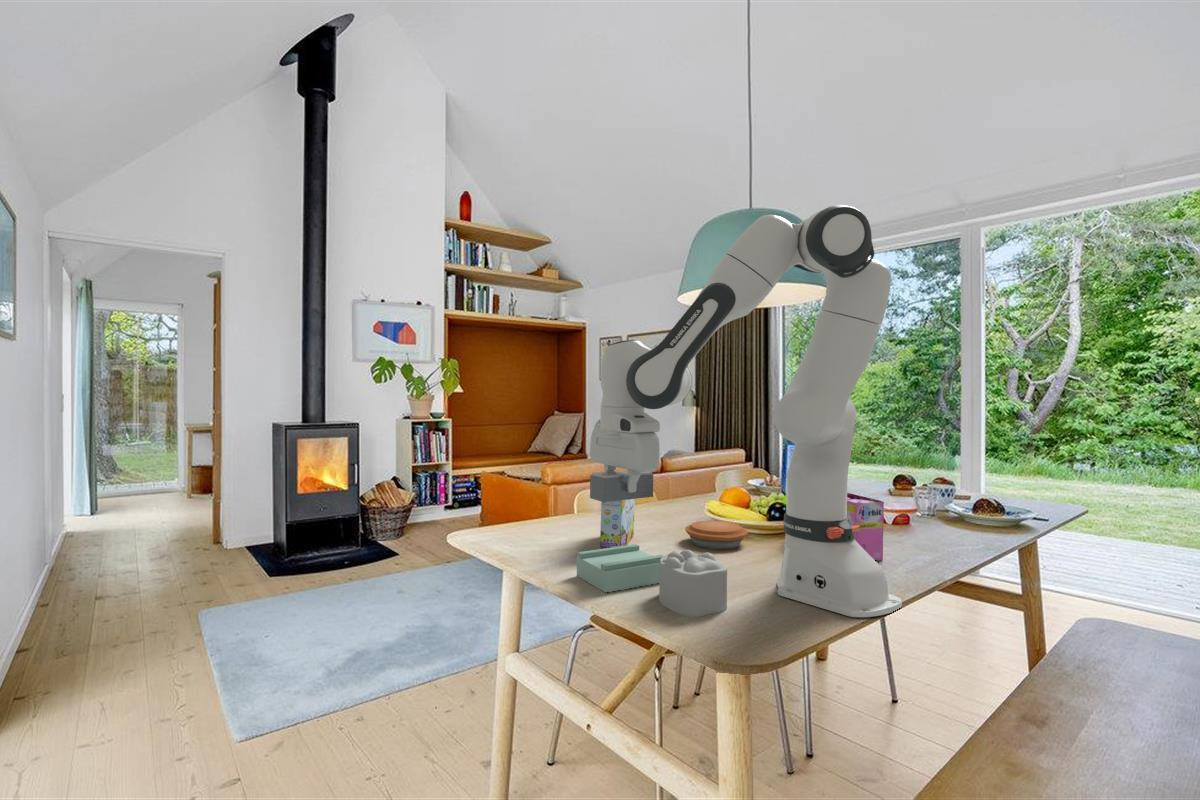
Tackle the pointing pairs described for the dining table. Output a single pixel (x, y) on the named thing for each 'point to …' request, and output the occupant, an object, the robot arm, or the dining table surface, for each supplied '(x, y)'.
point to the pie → (716, 534)
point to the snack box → (616, 523)
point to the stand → (618, 567)
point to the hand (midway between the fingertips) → (621, 489)
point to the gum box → (867, 523)
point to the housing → (619, 486)
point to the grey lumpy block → (692, 583)
